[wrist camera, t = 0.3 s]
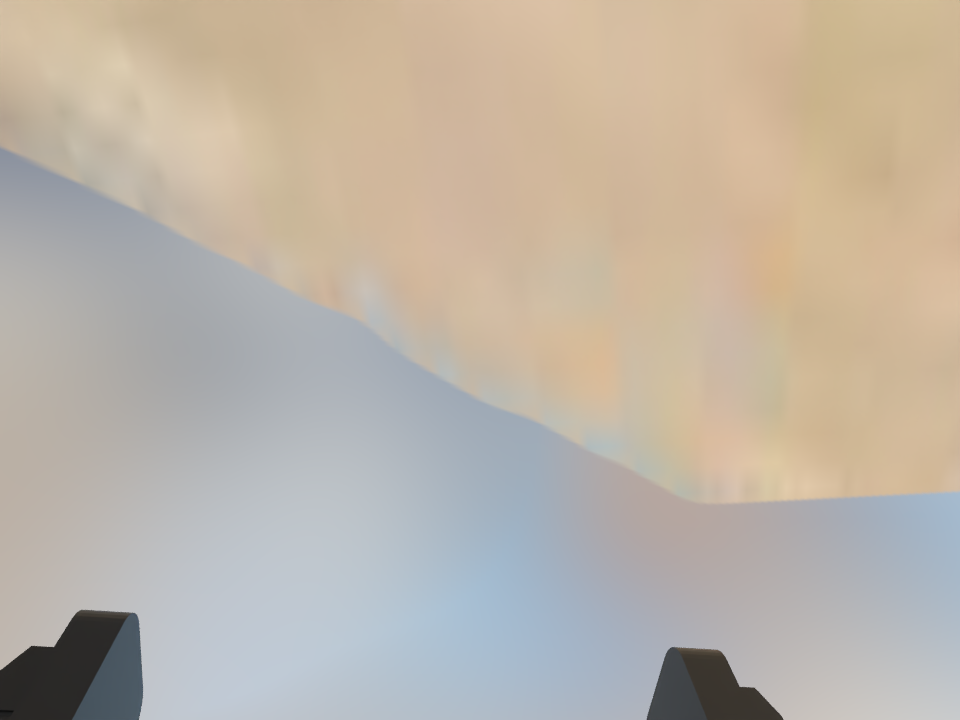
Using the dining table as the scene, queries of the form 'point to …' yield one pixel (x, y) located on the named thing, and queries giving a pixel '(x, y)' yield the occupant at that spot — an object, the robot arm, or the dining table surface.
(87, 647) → the robot arm
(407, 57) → the dining table surface
